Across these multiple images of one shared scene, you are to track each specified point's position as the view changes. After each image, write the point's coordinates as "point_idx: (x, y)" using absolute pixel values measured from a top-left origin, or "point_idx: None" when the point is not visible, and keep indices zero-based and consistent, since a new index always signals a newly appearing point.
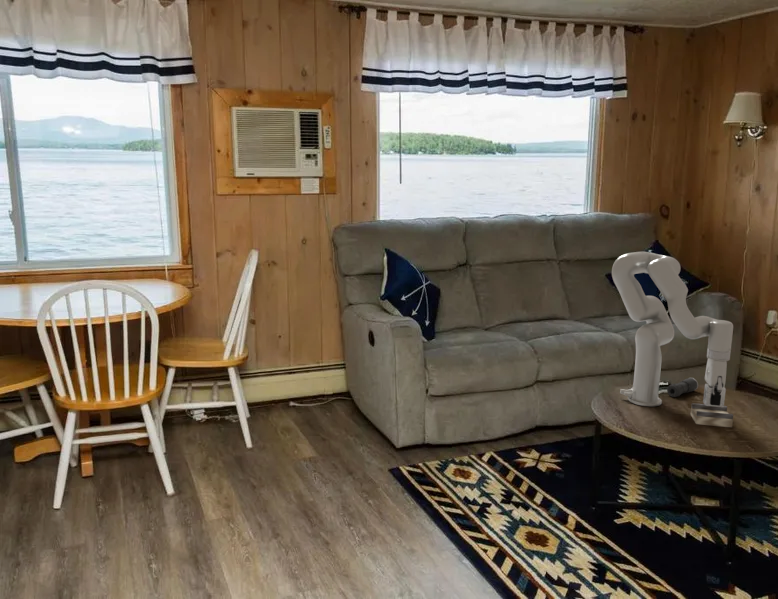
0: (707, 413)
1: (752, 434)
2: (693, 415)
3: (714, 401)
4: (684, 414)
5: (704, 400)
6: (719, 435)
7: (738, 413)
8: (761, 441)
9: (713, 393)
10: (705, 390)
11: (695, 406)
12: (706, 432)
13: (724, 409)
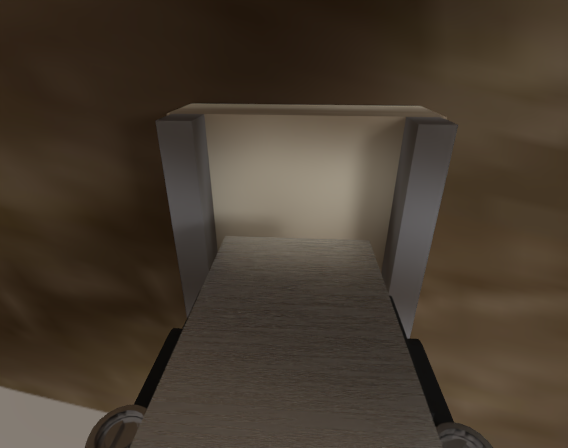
0: (173, 213)
1: (146, 369)
2: (312, 109)
3: (165, 346)
4: (414, 47)
5: (313, 257)
6: (34, 213)
7: (462, 396)
8: (67, 377)
9: (89, 438)
10: (325, 368)
11: (406, 153)
12: (42, 142)
13: None
